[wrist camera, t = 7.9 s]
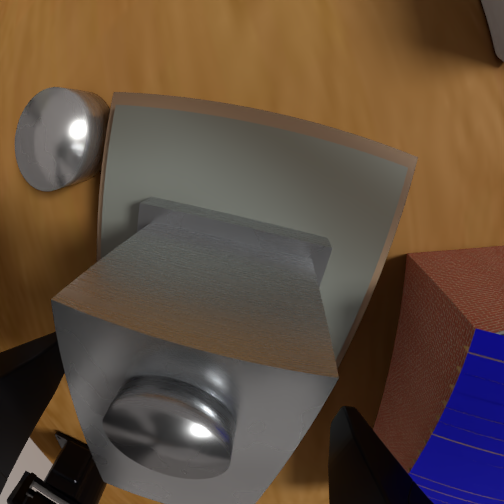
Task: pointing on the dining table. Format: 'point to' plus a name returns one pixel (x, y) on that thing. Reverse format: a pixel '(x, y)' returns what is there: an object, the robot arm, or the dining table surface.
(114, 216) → the stand
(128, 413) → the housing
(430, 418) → the house
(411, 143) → the dining table surface
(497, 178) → the dining table surface
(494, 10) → the electrical switch
